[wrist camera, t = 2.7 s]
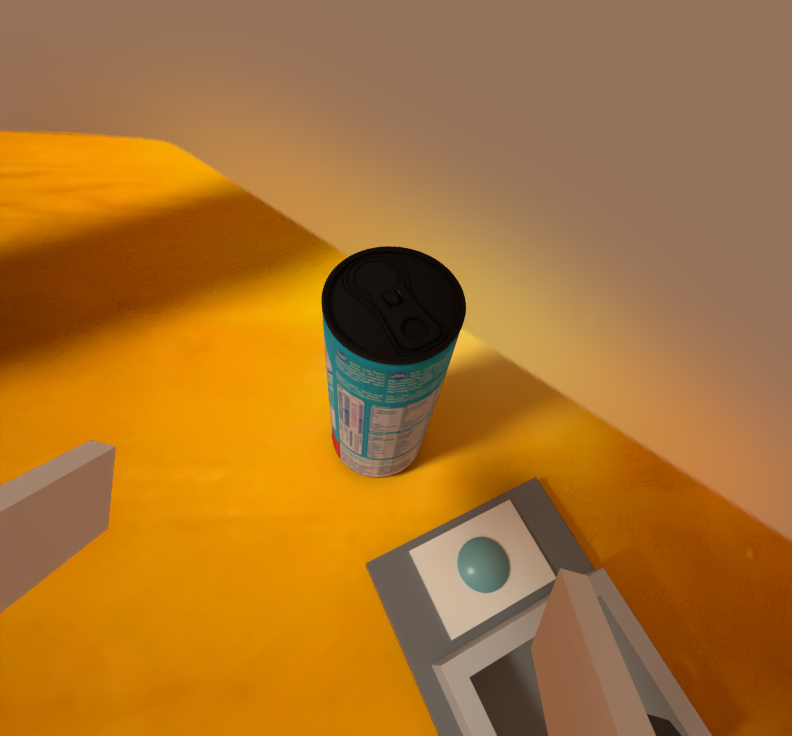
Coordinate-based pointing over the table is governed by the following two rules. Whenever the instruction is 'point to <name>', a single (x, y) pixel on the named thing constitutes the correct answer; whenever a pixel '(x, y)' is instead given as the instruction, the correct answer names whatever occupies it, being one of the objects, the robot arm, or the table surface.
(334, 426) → the beverage can
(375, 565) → the can holder
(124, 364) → the table surface
